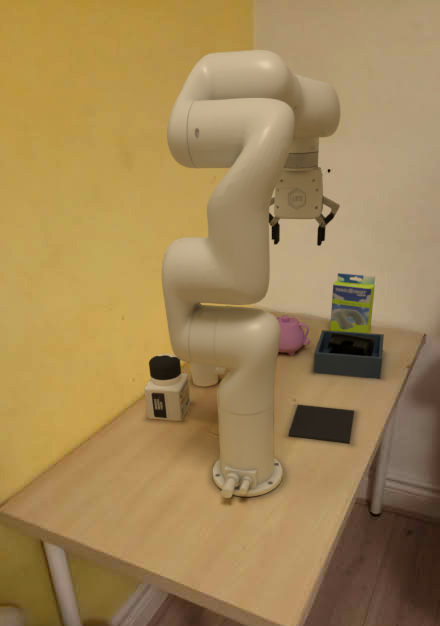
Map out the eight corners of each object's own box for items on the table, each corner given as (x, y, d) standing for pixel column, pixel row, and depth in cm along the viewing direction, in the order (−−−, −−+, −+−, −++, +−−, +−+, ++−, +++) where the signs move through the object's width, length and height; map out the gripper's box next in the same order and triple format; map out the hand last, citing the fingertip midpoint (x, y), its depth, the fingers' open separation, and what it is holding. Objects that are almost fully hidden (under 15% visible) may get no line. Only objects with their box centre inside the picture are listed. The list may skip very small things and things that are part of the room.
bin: (379, 378, 127) (382, 358, 125) (313, 372, 132) (314, 353, 129) (381, 353, 140) (383, 334, 137) (321, 348, 144) (321, 330, 141)
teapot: (305, 360, 138) (307, 326, 134) (249, 354, 143) (248, 321, 138) (312, 343, 147) (314, 311, 142) (259, 338, 151) (259, 307, 147)
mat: (349, 443, 105) (349, 441, 105) (288, 436, 108) (288, 434, 108) (354, 412, 115) (354, 410, 115) (297, 406, 118) (297, 404, 118)
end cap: (372, 359, 136) (374, 334, 133) (364, 371, 131) (367, 345, 127) (333, 352, 140) (335, 328, 137) (324, 363, 135) (326, 338, 132)
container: (182, 422, 114) (177, 367, 108) (147, 419, 116) (140, 365, 110) (190, 403, 121) (186, 351, 115) (158, 401, 123) (152, 349, 116)
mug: (186, 384, 129) (182, 337, 124) (200, 372, 134) (197, 327, 129) (222, 392, 125) (220, 345, 119) (236, 380, 130) (234, 334, 124)
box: (328, 337, 150) (332, 276, 141) (333, 332, 153) (336, 272, 145) (367, 343, 146) (373, 280, 137) (370, 337, 149) (376, 276, 140)
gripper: (255, 164, 111) (256, 247, 120) (340, 163, 107) (335, 249, 115) (263, 159, 118) (263, 238, 126) (343, 158, 113) (338, 240, 121)
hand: (297, 243), depth 121 cm, fingers open, 9 cm apart
